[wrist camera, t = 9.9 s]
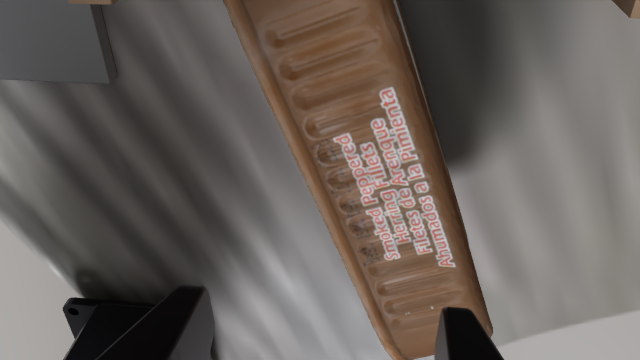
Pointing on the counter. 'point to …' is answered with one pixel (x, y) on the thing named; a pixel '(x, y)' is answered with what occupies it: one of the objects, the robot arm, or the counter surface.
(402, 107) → the tin
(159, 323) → the robot arm
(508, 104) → the counter surface
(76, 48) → the grey plank
